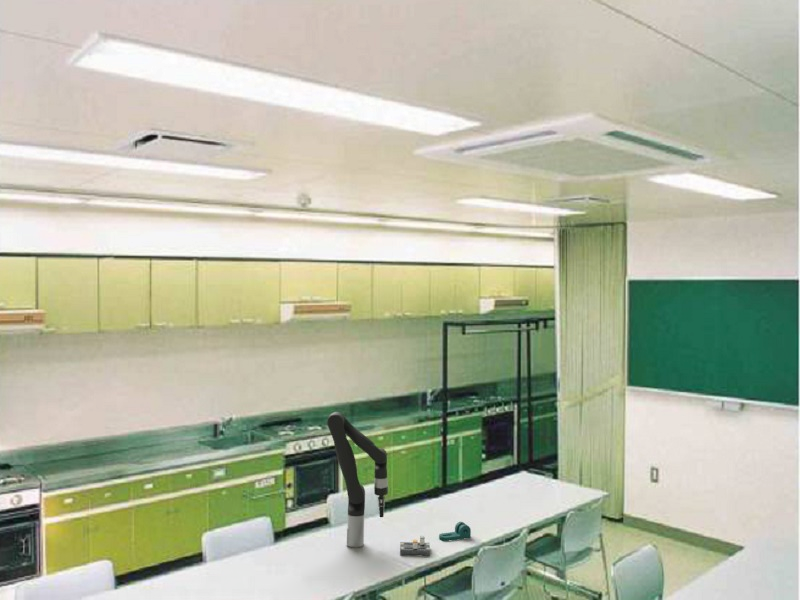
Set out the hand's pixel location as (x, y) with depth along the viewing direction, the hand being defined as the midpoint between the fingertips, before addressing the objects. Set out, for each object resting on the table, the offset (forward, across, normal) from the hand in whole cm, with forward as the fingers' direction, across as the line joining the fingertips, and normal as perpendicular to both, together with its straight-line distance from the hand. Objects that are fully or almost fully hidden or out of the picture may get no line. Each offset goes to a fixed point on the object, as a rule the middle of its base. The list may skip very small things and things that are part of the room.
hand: (381, 514), depth 383 cm
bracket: (+20, -13, +41) cm, 48 cm away
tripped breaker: (+15, +11, +18) cm, 26 cm away
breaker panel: (+18, +8, +18) cm, 27 cm away
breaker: (+15, +6, +22) cm, 27 cm away
